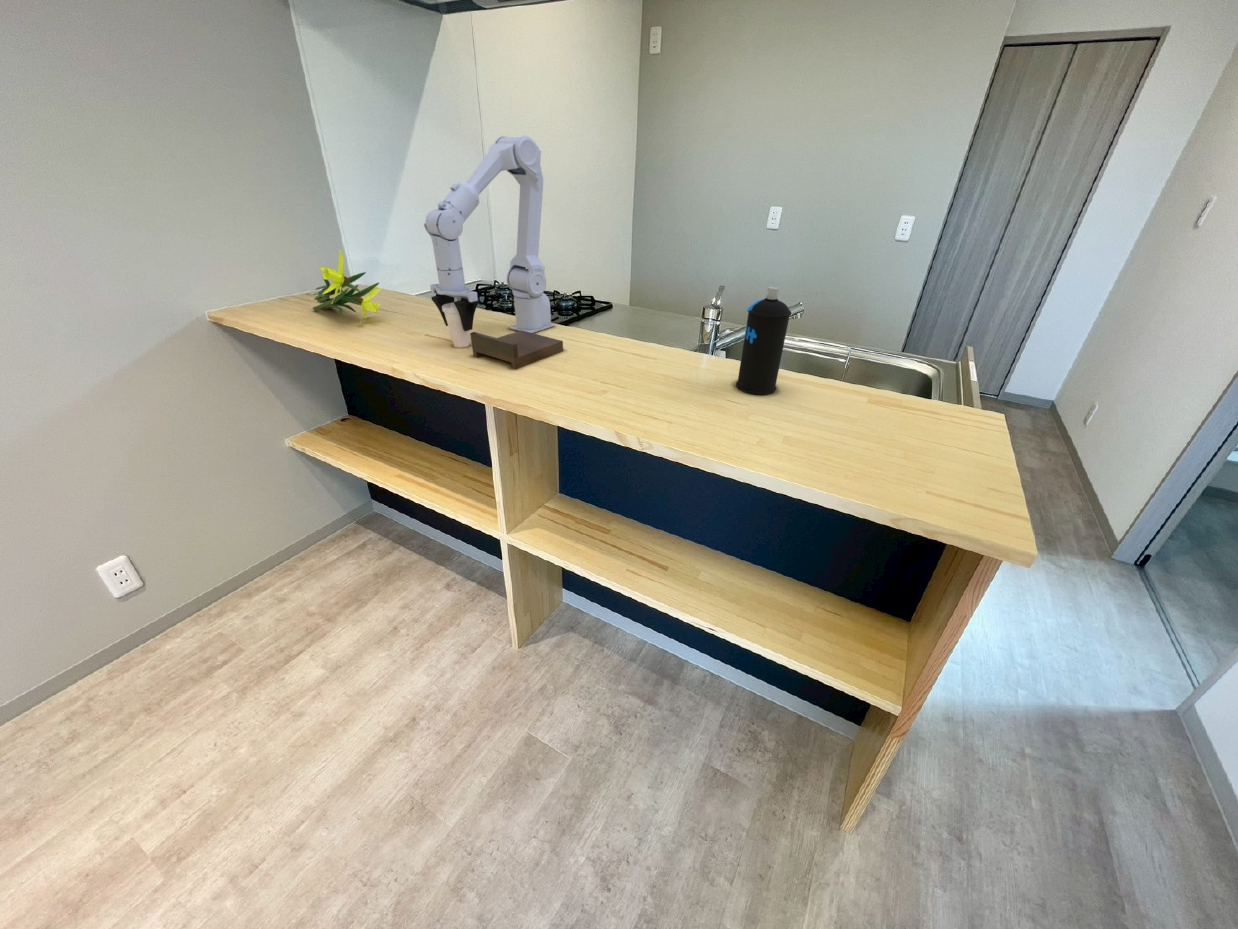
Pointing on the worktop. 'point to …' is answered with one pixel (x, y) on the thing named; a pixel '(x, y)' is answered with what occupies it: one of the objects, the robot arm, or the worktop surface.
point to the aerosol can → (763, 345)
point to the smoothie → (455, 325)
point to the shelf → (516, 347)
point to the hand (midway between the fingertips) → (458, 327)
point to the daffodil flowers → (344, 297)
